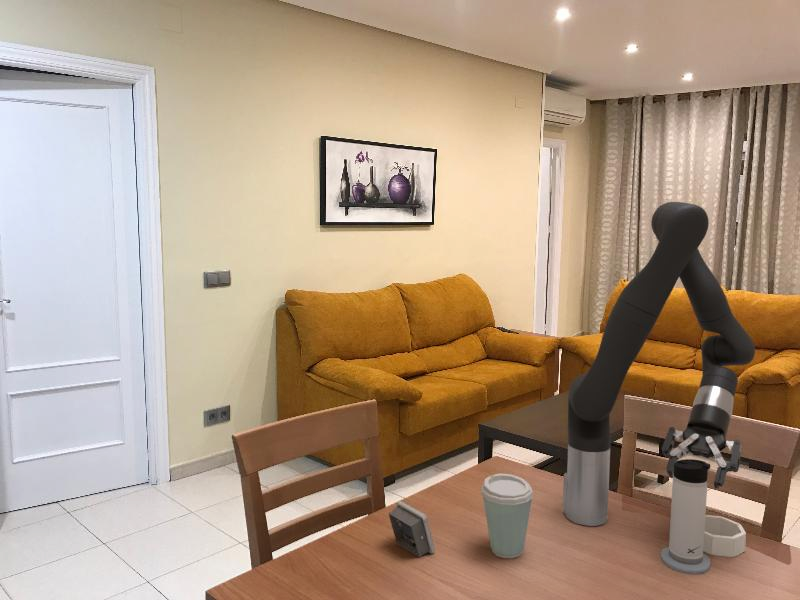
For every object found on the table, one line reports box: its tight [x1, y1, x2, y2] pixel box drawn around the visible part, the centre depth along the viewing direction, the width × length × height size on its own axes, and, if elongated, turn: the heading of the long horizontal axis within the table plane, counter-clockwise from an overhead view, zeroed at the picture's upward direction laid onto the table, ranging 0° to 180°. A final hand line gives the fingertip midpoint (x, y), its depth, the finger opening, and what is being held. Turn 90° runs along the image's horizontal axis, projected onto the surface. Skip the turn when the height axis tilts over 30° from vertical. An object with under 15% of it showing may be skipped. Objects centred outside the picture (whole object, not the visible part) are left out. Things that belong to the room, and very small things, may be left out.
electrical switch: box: [388, 500, 436, 558], centre depth 133 cm, size 9×5×9 cm, turn 38°
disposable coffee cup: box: [480, 473, 534, 559], centre depth 132 cm, size 11×11×15 cm
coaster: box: [660, 546, 711, 575], centre depth 128 cm, size 9×9×1 cm
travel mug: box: [668, 458, 711, 564], centre depth 127 cm, size 6×7×20 cm
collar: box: [703, 514, 747, 558], centre depth 135 cm, size 10×10×4 cm
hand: (693, 481), depth 128 cm, fingers open, 8 cm apart
